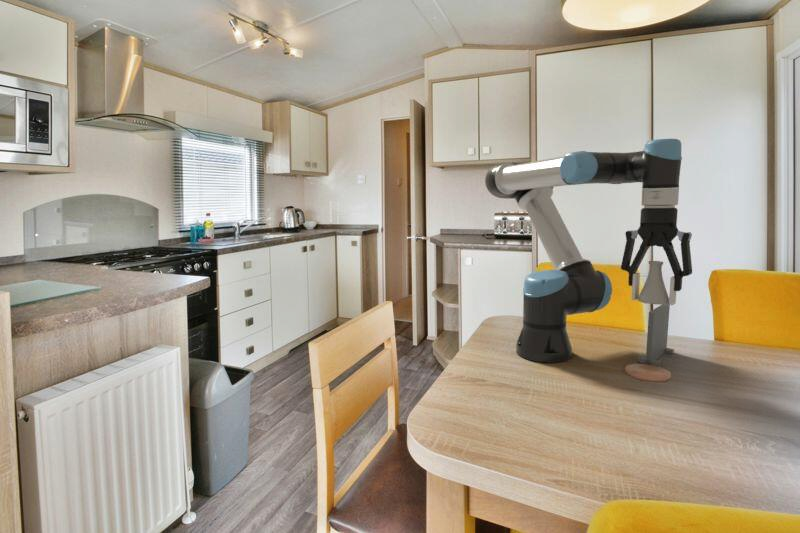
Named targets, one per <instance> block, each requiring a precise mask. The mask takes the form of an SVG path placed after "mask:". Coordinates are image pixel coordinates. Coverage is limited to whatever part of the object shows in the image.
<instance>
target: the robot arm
mask: <svg viewBox="0 0 800 533" xmlns="http://www.w3.org/2000/svg"><path fill="white" fill-rule="evenodd" d="M682 160H683V157H682V142H681V140H680V139H678V138H659V139H658V138H657V139H651V140H648V141H646V142H645V144H644V148H643V150H640V151H633V152H632V151H631V152H606V151H605V152H603V151H602V152H601V151H600V152H597V151H596V152H594V151H585V150H582V151H581V150H580V151H572V152H569V153H567V154H566V155H563V156H558V157H553V158H546V159H545V158H544V159H542V160H541V159H540V160H535V161H529V162H500V163H499V162H498V163H497V164H494V165H492V166H491V168H489V169H488V170H487V172H486V174H485V179H484V181H485V182H484V184H485V187H486V189H487V192H489V194H491V195H492V196H494V197H496V198H498V199H510V200H511V199H514V200H515V201H516V203H517V206H518V207H519V208H520V209H522V210H525V211H526V212H527V215H528V217H529V219H530V222H531V223H532V225H533V227H534V230H535V231H536V233H537V235H538V238H539V239H540V240H539V241H541V244H542V246H543V249H544V250H545V252H546V255H547V257H548V258H549V260H550V262H551V264H552V267H553V269H544V270H539V271H534V272H531V273H529V274H528V275H527V276H526V277H525V278H524V282H523V284H524V285H523V290H522V293H523V309H522V310H523V312H522V328H521V329H520V333H519V334H518V335H519V336H518V338H517V341H516V343H515V344H516V345H515V348H516V349H515V352H516V354H517V355H518V356H520V357H521V358H524V359H526V360H529V361H533V362H541V363H562V362H565V361H568V360H570V359H571V358H573V347H572V344H571V340H570V336H569V334H568V332H567V316H571V315H578V314H585V313H593V312H596V311H600V310H602V309H604V308H605V307H606V306H607V305H608V304H609V302H610V301H611V297H612V294H613V284H612V282H611V279H610V277H609V276H608V275H607V274H606V273H605V272H603V271H601V270H595V267H594V266H593V264H592V261H591V260H589V259H586V258H584V257H583V256H582V255H581V253H580V251H579V249H578V247H577V245H576V243H575V240H574V239H573V237H572V235H571V233H570V231H569V230H568V227H567V225H566V224H565V221H564V220H563V218H562V216H561V214H560V212H559V210H558V208H557V207H556V205H555V203H554V201H553V199H552V196H553V193H554V190H553V189H554V187H563V186H575V185H585V184H586V185H588V184H611V185H621V184H632V183H633V184H634V183H642V186H641V188H642V189H641V206H643V207H642V208H641V209H640V222H639V227H638V229H635V230H633V229H632V230H627V231H626V232H625V240H626V241H625V246H624V252H623V255H622V256H623V257H622V259H621V260H622V261H621V266H620V270H622V271H625V272H627V273H628V280H627V283H628V286H629V287H631V301H636V300H638V297H639V295H640V280H641V278H640V277H641V273H640V272H638V269H639V267H640V266H641V263H642V261H643V260H644V258H645V256H646V254H647V252H648V250H649V248H650V247H655V246H656V247H660V248H661V247H662V249H663V251H664V253H665V254H666V258H667V260H668V263H669V266H670V267H671V270H672V273H673V275H674V276H671V277H670V279H669V280H670V281H669V294H668V297H669V305H670V306H673V305H675V304H676V302H677V292H680V291H681V290H682V287H683V277H688V276H690V275H692V274H693V266H692V265H693V264H692V255H691V246H690V243H691V239H692V236H693V234H692V232H690V231H687V232H685V231H680V230H679V229H678V227H677V224H678V223H677V222H678V208H677V207H676V206H678V205H679V197H680V196H679V194H680V193H679V192H680V176H681V166H682ZM638 236H639V237H640V238H641V239H642V240H641V244H640V245H639V249H638V251H637V253H636V254H635V257H634V258H633V260H632V256H633V251H634V248H635V242H636V239H637V238H638ZM676 237H678V241H680V250H681V252H680V253H681V260H682V261H681V262H682V267H681V265H680V262H679V259H678V256H677V254H676V251H675V248H674V245H673V242H672V241H673V240H674V239H675V238H676Z"/></svg>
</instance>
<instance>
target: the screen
mask: <svg viewBox="0 0 800 533" xmlns="http://www.w3.org/2000/svg"><path fill="white" fill-rule="evenodd" d="M670 306H671V305H669V304H659V306H657V307H655V308H653V309H652V310H650V311H649V312H648V320H647V321H648V322H647V336H646V350H645V351H646V354H645V356H643V355H642V356H641V355H639V357H638V358H637V362H638V363H641V364H647V365H653V366H657V367H660V366H661V365H662V360H659V358H660V357H661V356H662V355H664V354H668V355H673V354H674V353H675V349H674V348H670V347H668V346H667V345H668V336H669V335H668V334H669V322H670V321H669V320H670V308H671V307H670Z"/></svg>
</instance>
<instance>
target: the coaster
mask: <svg viewBox="0 0 800 533" xmlns="http://www.w3.org/2000/svg"><path fill="white" fill-rule="evenodd" d="M624 371H625V373H626V374H627V375H629V376H630V377H632V378H635V379H638V380H641V381H646V382H654V383H656V382H657V383H658V382H660V383H661V382H667V381H670V380H671V379H672V373H671V372H670V371H668V370H667V369H664V368H663V367H660V366H655V365H650V364H646V363H632V364H628V365H626V366H625V368H624Z"/></svg>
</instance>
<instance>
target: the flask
mask: <svg viewBox="0 0 800 533" xmlns="http://www.w3.org/2000/svg"><path fill="white" fill-rule="evenodd" d="M648 264H649V270H648V275H647V276H646V280H645V282H644V284H643V287H642V288H641V291H640V292H639V297H638V299H636V300H637V301H638V302H640V303H644V304H648V305H649V304H650V305H662V304H669V294H668V292H667V288H666V285H665V282H664V278H663V271H662V267H663V265H664V261H662V260H649V261H648Z"/></svg>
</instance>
